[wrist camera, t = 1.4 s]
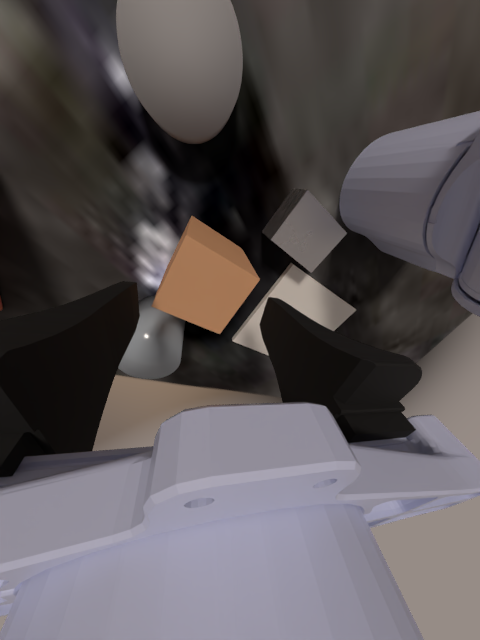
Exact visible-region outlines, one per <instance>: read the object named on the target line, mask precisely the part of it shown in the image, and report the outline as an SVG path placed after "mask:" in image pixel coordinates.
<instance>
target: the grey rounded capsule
mask: <svg viewBox="0 0 480 640" xmlns="http://www.w3.org/2000/svg"><path fill="white" fill-rule="evenodd" d="M154 299H155V296H149V297H146V298H143V299H142V300H140V301H139V313H140V317H139V321H138V324H137V328H136V331H135V333H134V335H133V337H132V340H131V342H130V344H129V346H128V348H127V350H126V352H125V354H124V356H123V358H122V360H121V362H120V364H119V367H118V368H119V369H120V370H121V371H123V372H124V373H126V374H128V375H131V376H133V377H137V378H142V379H157V378H162V377H165V376H168V375H170V374H171V373H173V372H174V371H175V370H176V369H177V368H178V367H179V365H180V362H181V354H182V345H183V336H184V328H185V320H183V319H181V318H178V317H176V316H173V315H171V314H168V313H166V312H163V311H161V310H158V309H156V308H153V307H151V306H152V304H153V301H154Z"/></svg>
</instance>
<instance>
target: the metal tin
mask: <svg viewBox="0 0 480 640" xmlns="http://www.w3.org/2000/svg"><path fill="white" fill-rule="evenodd" d="M262 233H263V234H265V235H266V236H267V237H268V238H269V239H270V240H272V241H273V242H274V243H275V244H277V245H278V246H279V247H280V248H281V249H283V250H284V251H285V252H286V253H288V254H289V255H290V256H291V257H292V258H294V259H295V260H296V261H297V262H299V263H300V264H301V265H302V266H303V267H305V268H306V269H307V270H308V271H309V272H311V273H312V272H313V270H314V269H315V268H316V267H317V266H318V265H319V264H320V263H321V262H322V261H323V259H324V258H325V257H326V256H327V255H328V254H329V253H330V252H331V251H332V249H333V248H334V247H335V246H336V245H337V244H338V243H339V242H340V241H341V240H342V238H343V237H344V236H345V235H346V234H347V233H346V232H345V231H344V229H343V228H342V227H341V226H340V225H339V224H338V223H337V222H336V221H335V219H334V218H333V217H332V216H331V215H330V214H329V213H328V212H327V210H326V209H325V208H324V207H323V206H322V205H321V204H320V203H319V202H318V200H317V199H316V198H315V197H314V196H313V195H312V194H311V193H310V192H309V190H304V189H292V190H291V191H290V193H289V194H288V196H287V197H286V198H285V200H284V201H283V203H282V204H281V205H280V207H279V208H278V210H277V211H276V213H275V214H274V215H273V217H272V218H271V220H270V221H269V222H268V224H267V225H266V227H265V228H264V229H263V231H262Z"/></svg>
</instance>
